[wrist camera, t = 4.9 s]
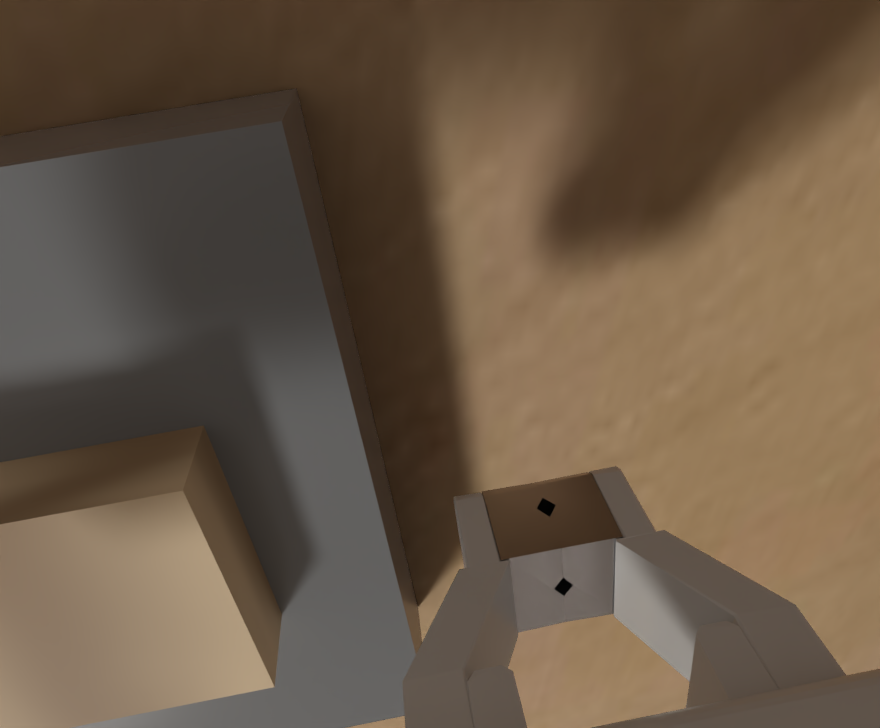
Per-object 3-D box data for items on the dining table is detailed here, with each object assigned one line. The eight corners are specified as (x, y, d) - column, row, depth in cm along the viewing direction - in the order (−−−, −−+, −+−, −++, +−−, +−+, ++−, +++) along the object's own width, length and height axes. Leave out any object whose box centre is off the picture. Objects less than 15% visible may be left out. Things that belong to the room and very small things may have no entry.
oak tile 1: (204, 425, 11) (182, 490, 9) (282, 615, 13) (274, 687, 12) (-100, 480, 10) (-167, 555, 9) (40, 662, 13) (4, 740, 12)
